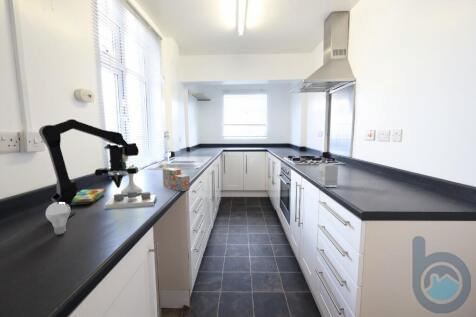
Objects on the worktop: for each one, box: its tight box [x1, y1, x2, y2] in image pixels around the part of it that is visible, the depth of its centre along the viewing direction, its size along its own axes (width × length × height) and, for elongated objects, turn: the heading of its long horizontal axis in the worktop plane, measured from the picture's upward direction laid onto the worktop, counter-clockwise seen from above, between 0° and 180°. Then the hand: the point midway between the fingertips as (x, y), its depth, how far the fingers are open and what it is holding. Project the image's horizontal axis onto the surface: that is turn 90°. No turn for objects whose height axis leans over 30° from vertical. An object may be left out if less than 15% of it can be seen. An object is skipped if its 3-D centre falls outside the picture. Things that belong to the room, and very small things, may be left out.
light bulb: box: [45, 202, 72, 236], centre depth 80 cm, size 7×7×12 cm
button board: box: [104, 194, 157, 210], centre depth 115 cm, size 12×22×2 cm, turn 103°
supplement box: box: [318, 163, 339, 186], centre depth 149 cm, size 9×9×15 cm
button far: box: [140, 191, 151, 199], centre depth 117 cm, size 4×4×2 cm
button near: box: [113, 193, 125, 201], centre depth 114 cm, size 4×4×2 cm
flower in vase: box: [120, 155, 143, 196], centre depth 130 cm, size 13×11×25 cm
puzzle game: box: [71, 188, 107, 206], centre depth 120 cm, size 12×5×20 cm
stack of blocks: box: [162, 167, 191, 192], centre depth 146 cm, size 21×6×12 cm, turn 49°
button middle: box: [127, 191, 138, 198], centre depth 116 cm, size 4×4×2 cm
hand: (118, 187), depth 114 cm, fingers closed
